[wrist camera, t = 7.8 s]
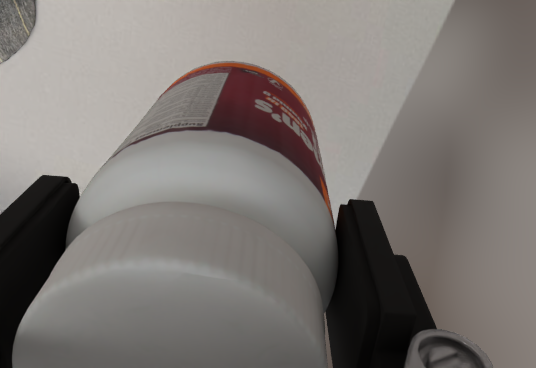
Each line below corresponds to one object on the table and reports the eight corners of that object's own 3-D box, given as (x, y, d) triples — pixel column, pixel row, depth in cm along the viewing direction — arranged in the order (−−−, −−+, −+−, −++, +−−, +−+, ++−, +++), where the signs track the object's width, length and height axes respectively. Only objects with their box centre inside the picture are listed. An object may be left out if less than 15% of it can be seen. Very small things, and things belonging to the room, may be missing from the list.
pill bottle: (342, 162, 18) (429, 436, 8) (214, 232, 19) (146, 536, 9) (257, 21, 16) (221, 148, 5) (118, 113, 17) (-110, 345, 7)
